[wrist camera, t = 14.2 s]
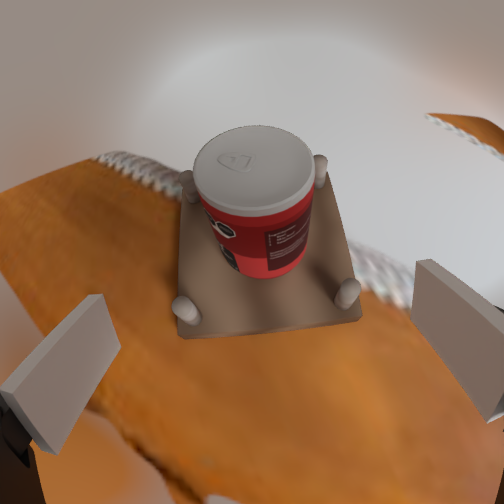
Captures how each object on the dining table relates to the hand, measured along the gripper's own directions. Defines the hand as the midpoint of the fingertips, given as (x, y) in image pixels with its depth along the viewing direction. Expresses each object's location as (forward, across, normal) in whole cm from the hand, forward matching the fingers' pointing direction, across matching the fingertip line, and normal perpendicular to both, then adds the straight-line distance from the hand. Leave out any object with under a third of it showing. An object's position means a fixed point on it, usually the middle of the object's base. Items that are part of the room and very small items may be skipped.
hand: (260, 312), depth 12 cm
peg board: (+18, 0, -4) cm, 19 cm away
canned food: (+17, 0, -2) cm, 17 cm away
